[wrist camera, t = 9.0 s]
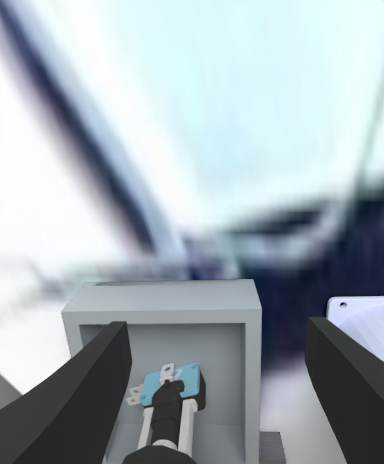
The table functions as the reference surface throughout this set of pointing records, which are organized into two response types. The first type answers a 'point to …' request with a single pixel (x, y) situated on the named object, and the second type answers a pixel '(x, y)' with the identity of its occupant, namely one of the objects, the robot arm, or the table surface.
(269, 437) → the collar
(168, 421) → the push button
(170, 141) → the table surface
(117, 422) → the bin
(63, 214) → the table surface
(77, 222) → the table surface
